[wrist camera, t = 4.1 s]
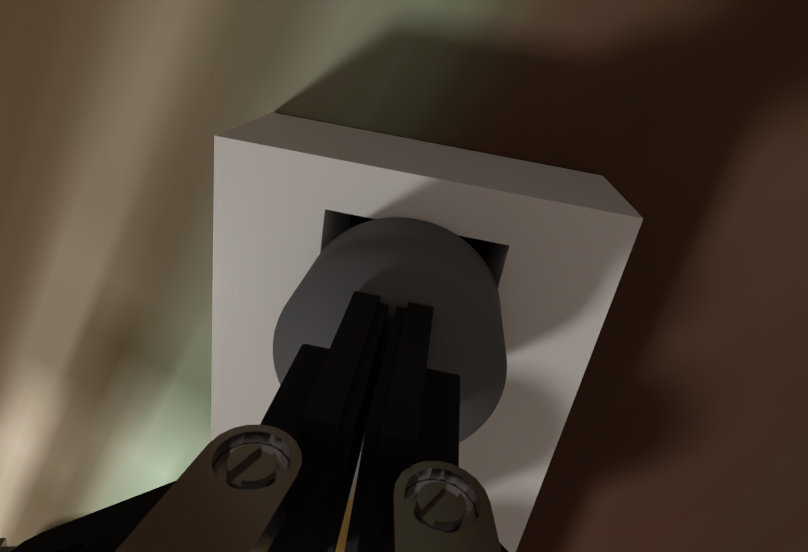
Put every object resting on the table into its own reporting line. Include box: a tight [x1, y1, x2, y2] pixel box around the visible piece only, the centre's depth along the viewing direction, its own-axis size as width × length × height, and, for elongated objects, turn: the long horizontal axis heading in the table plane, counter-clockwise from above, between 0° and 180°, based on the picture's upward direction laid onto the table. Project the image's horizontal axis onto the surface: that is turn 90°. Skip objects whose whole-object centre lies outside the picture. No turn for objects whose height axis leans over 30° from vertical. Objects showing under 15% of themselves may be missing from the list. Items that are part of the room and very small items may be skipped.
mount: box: [211, 112, 643, 552], centre depth 18 cm, size 10×19×4 cm, turn 171°
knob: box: [273, 217, 507, 452], centre depth 14 cm, size 5×5×6 cm
